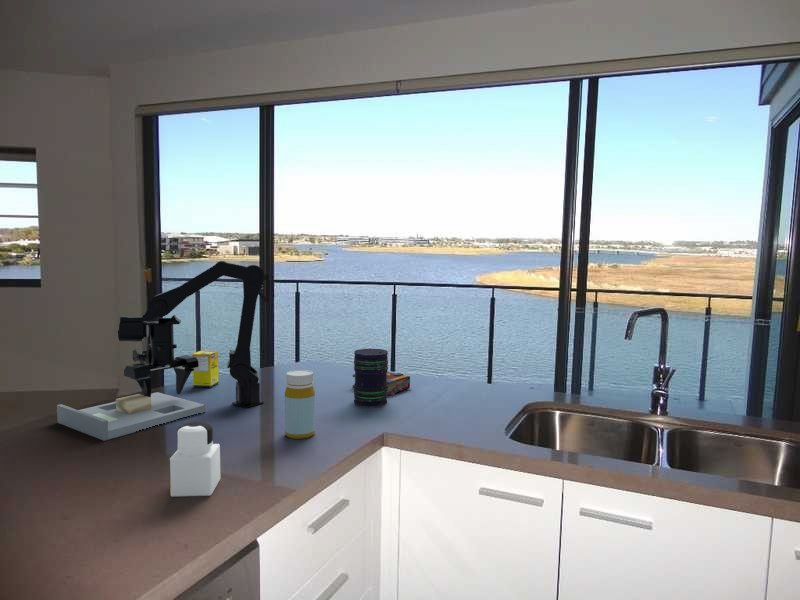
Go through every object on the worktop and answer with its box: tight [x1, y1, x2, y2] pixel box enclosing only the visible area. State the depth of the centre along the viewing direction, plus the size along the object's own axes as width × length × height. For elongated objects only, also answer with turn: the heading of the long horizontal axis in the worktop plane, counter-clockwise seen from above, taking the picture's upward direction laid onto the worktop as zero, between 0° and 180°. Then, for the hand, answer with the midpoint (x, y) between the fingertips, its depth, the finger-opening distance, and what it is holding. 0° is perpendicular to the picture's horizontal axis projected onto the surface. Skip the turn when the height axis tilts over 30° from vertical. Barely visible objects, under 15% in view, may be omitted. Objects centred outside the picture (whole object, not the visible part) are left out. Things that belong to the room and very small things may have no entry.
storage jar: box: [353, 348, 389, 408], centre depth 156 cm, size 10×10×15 cm
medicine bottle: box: [169, 420, 221, 498], centre depth 99 cm, size 7×7×12 cm
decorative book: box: [352, 371, 411, 396], centre depth 173 cm, size 11×16×5 cm
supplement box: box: [191, 350, 220, 389], centre depth 173 cm, size 6×6×11 cm
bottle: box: [284, 369, 316, 440], centre depth 128 cm, size 7×7×15 cm
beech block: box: [115, 393, 151, 414], centre depth 140 cm, size 6×6×3 cm
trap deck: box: [56, 391, 206, 442], centre depth 140 cm, size 22×27×4 cm
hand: (163, 397), depth 147 cm, fingers open, 9 cm apart
